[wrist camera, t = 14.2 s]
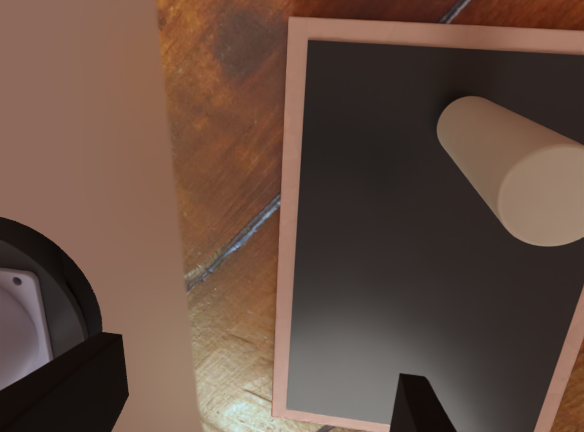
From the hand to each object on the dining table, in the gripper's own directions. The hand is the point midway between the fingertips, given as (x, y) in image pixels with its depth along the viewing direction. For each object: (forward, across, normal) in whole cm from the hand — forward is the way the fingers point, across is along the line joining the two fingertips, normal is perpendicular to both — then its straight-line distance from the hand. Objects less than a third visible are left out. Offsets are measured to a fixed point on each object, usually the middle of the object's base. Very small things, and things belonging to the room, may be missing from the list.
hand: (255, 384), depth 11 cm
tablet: (+10, -6, +1) cm, 12 cm away
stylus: (+9, -6, -6) cm, 12 cm away
